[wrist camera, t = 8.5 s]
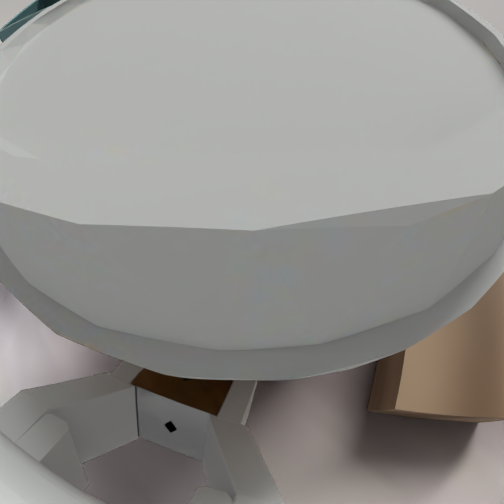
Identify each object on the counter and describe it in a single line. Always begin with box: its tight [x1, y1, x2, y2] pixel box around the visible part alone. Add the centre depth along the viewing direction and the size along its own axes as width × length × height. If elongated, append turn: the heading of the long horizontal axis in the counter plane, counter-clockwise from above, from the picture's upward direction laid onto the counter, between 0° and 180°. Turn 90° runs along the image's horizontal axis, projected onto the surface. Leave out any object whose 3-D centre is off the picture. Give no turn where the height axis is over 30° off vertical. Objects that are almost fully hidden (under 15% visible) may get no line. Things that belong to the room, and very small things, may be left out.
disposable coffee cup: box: [0, 0, 504, 380], centre depth 9 cm, size 10×10×12 cm
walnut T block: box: [367, 272, 504, 423], centre depth 13 cm, size 24×16×3 cm, turn 74°
